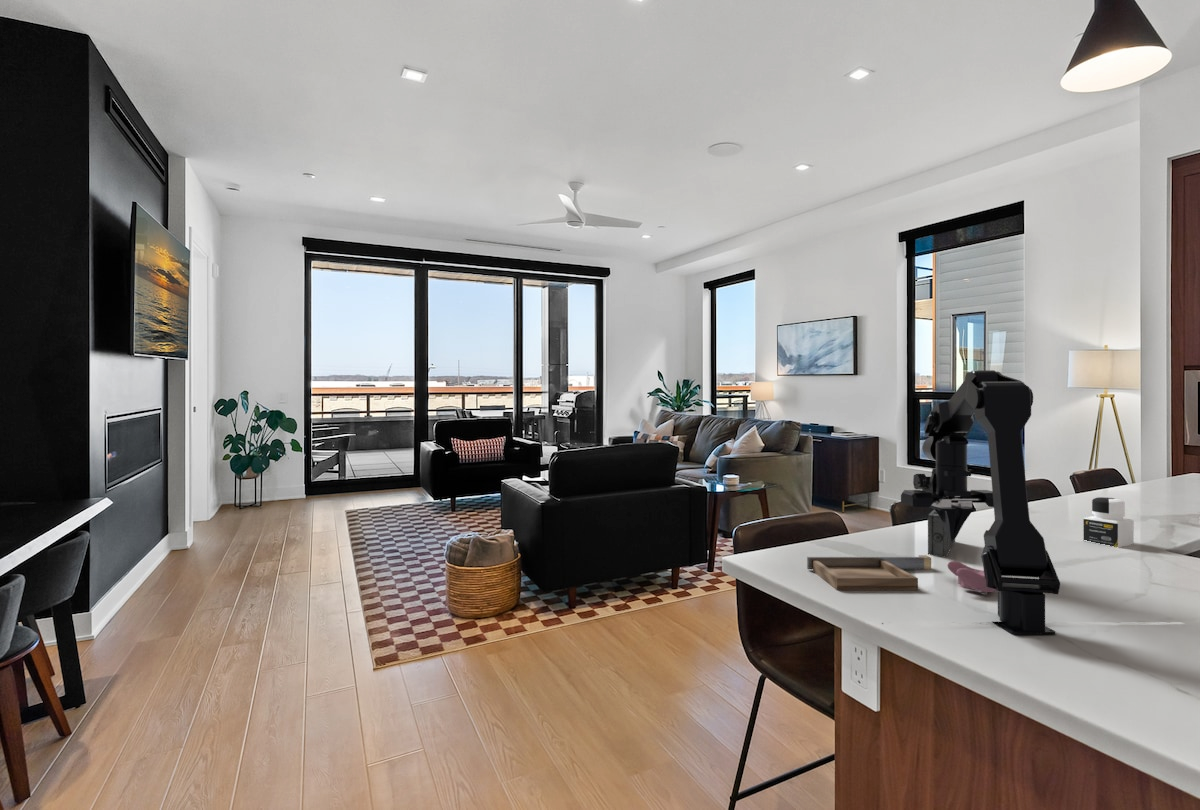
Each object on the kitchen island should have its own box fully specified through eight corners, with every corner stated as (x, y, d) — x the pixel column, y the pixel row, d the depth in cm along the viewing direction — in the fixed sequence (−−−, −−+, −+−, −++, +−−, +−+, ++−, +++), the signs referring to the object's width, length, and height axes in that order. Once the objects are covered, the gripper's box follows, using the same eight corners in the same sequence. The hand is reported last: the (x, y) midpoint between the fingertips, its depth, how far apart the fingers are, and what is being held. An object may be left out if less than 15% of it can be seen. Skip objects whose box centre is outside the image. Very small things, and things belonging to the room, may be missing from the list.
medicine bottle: (1082, 546, 149) (1082, 497, 149) (1099, 543, 152) (1099, 495, 152) (1117, 552, 142) (1117, 501, 142) (1134, 549, 145) (1134, 499, 145)
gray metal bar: (931, 569, 127) (931, 557, 127) (808, 569, 127) (808, 557, 127) (925, 566, 129) (925, 555, 129) (804, 566, 129) (804, 555, 129)
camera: (946, 561, 135) (946, 516, 135) (926, 559, 137) (926, 514, 137) (956, 547, 148) (956, 506, 148) (937, 545, 150) (937, 504, 150)
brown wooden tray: (917, 590, 114) (917, 578, 114) (837, 590, 114) (837, 578, 114) (885, 571, 127) (885, 560, 127) (813, 571, 127) (812, 560, 127)
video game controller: (957, 593, 111) (1002, 597, 108) (957, 568, 111) (1001, 571, 109) (947, 583, 120) (988, 587, 118) (946, 559, 120) (987, 563, 118)
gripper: (972, 461, 136) (972, 531, 136) (888, 461, 136) (888, 531, 136) (1005, 466, 125) (1005, 542, 125) (914, 466, 125) (914, 542, 125)
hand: (951, 539), depth 128 cm, fingers closed
